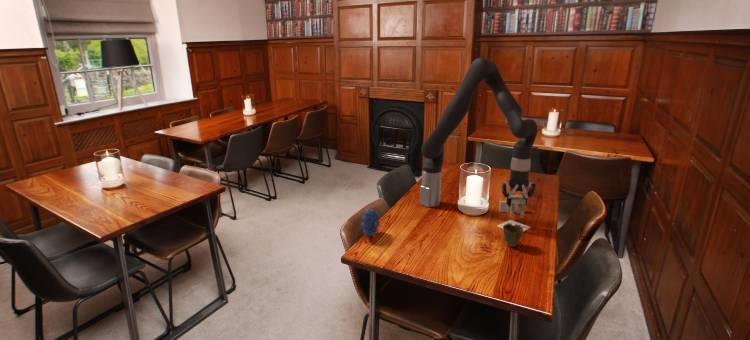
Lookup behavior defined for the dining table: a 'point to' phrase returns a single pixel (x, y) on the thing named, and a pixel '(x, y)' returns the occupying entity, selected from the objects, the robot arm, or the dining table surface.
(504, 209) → the block
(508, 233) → the cup
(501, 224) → the mat
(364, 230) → the grapes
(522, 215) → the stool
